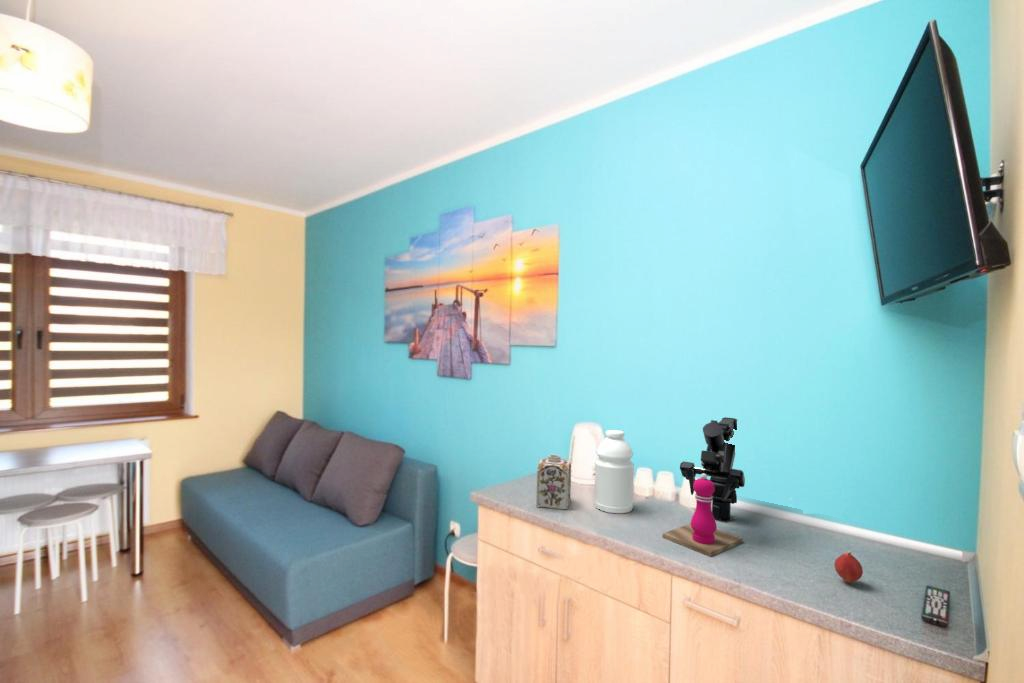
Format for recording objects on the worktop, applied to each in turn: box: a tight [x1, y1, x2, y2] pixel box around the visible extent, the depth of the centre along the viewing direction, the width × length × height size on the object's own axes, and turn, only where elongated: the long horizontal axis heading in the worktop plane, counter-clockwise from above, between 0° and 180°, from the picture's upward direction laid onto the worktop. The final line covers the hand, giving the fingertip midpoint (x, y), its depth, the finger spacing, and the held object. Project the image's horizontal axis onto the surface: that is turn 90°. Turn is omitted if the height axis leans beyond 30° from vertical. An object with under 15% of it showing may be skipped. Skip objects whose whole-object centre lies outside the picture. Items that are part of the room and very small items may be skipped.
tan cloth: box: [662, 523, 744, 558], centre depth 143 cm, size 18×16×1 cm
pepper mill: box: [690, 473, 718, 544], centre depth 139 cm, size 7×7×20 cm
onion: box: [834, 551, 864, 584], centre depth 118 cm, size 6×6×8 cm
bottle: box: [594, 429, 635, 514], centre depth 170 cm, size 14×14×28 cm
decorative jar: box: [536, 454, 572, 510], centre depth 173 cm, size 12×12×18 cm
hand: (707, 497), depth 143 cm, fingers open, 9 cm apart
